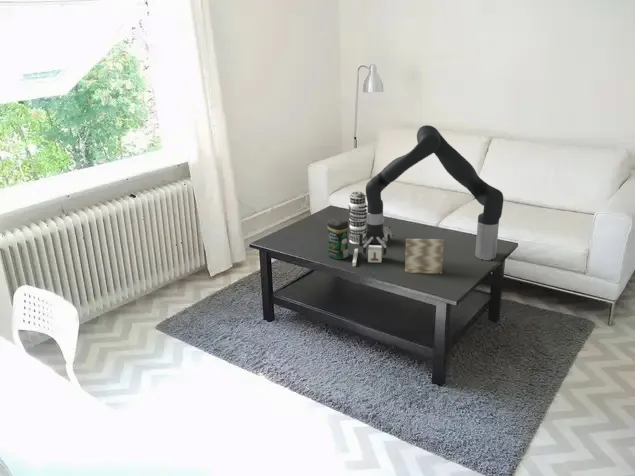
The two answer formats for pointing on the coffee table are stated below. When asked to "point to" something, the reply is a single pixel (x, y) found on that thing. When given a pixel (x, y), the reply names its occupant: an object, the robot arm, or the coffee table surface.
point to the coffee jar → (337, 238)
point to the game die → (386, 231)
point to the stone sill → (355, 257)
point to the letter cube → (374, 253)
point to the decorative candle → (357, 217)
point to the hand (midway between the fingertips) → (374, 254)
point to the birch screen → (424, 255)
